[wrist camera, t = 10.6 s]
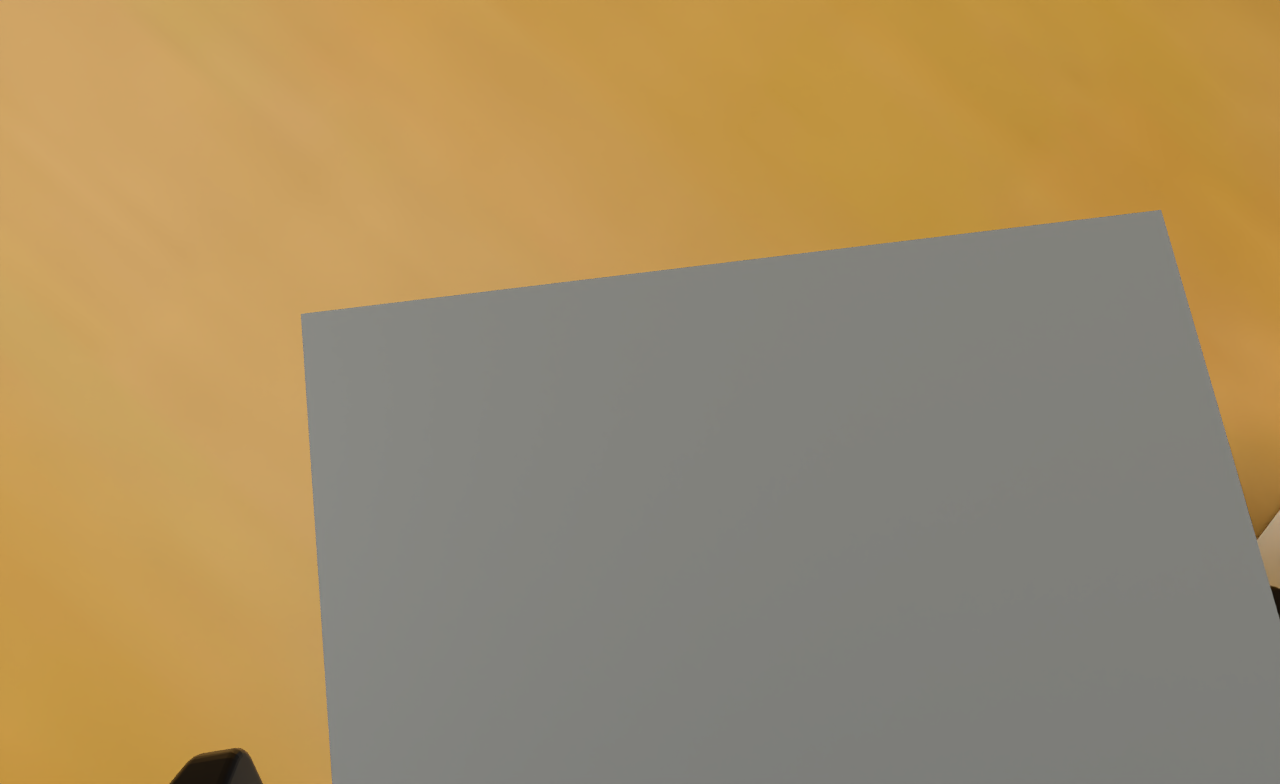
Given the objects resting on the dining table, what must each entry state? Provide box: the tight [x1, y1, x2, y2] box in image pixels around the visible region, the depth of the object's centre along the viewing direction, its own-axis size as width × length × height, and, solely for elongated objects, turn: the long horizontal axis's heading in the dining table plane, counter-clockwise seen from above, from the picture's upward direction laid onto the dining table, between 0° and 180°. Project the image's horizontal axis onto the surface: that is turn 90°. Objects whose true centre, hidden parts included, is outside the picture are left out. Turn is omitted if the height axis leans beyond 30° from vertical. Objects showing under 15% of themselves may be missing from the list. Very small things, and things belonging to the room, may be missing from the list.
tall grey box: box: [301, 210, 1280, 784], centre depth 11 cm, size 6×6×11 cm
